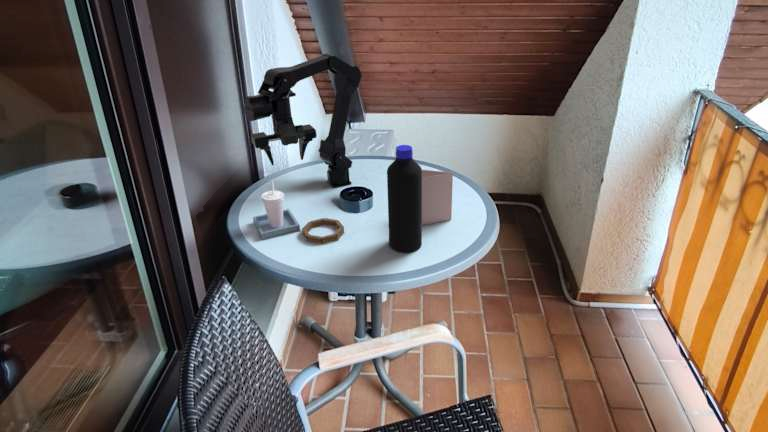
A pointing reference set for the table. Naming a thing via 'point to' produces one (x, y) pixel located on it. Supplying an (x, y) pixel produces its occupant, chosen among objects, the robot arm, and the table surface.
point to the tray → (268, 232)
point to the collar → (325, 238)
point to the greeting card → (436, 196)
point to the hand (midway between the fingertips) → (287, 162)
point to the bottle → (404, 201)
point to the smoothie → (274, 206)
